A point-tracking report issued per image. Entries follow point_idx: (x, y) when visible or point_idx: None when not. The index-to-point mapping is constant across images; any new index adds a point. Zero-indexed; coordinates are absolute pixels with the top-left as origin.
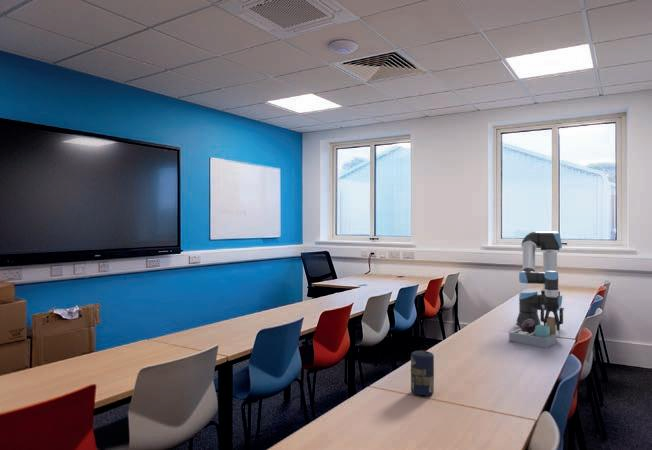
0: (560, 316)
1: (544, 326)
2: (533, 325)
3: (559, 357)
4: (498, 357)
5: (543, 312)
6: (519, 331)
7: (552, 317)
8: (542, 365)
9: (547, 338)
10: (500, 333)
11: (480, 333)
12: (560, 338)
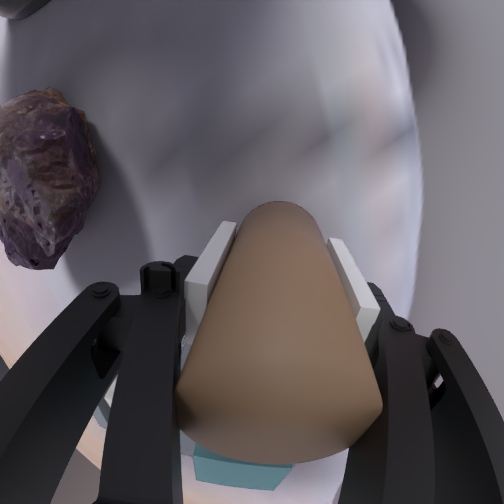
0: (443, 476)
1: (253, 478)
2: (60, 227)
3: (342, 469)
4: (205, 491)
5: (42, 444)
6: (106, 400)
7: (292, 418)
8: (304, 497)
9: (294, 464)
10: (16, 284)
11: (2, 322)
12: (346, 184)
